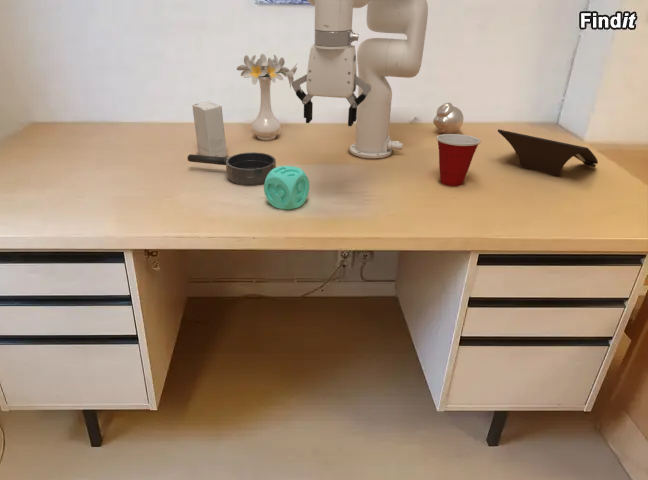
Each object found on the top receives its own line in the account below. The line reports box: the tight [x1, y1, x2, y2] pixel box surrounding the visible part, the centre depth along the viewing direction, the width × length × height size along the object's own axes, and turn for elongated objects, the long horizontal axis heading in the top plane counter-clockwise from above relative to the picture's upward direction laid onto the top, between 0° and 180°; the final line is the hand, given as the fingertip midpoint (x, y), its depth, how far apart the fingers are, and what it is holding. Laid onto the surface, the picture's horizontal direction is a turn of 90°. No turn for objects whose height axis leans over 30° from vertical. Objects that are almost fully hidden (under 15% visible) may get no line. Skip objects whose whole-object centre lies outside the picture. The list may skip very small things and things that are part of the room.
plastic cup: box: [435, 133, 482, 187], centre depth 142 cm, size 11×11×12 cm
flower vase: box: [236, 53, 298, 141], centre depth 172 cm, size 13×18×25 cm
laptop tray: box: [497, 128, 599, 177], centre depth 151 cm, size 23×23×9 cm
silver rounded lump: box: [432, 102, 464, 135], centre depth 177 cm, size 9×10×10 cm
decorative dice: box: [263, 165, 311, 210], centre depth 132 cm, size 8×8×8 cm
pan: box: [225, 151, 277, 186], centre depth 148 cm, size 13×13×4 cm
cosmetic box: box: [191, 100, 228, 158], centre depth 160 cm, size 8×6×15 cm
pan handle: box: [186, 154, 228, 166], centre depth 150 cm, size 12×2×2 cm, turn 74°
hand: (329, 123), depth 121 cm, fingers open, 9 cm apart
